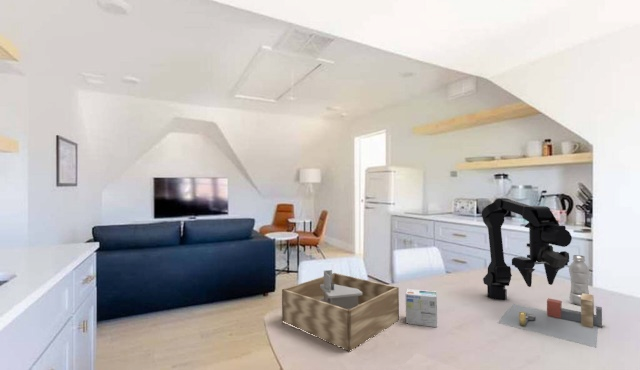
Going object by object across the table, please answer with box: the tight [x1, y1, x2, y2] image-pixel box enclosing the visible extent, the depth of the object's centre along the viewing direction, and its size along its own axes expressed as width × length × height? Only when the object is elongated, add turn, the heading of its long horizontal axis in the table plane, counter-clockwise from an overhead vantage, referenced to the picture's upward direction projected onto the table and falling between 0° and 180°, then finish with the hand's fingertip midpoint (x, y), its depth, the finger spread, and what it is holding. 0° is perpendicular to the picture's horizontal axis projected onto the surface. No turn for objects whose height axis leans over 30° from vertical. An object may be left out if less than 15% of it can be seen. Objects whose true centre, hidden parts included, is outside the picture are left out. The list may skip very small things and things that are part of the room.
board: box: [497, 303, 599, 349], centre depth 110 cm, size 26×24×1 cm
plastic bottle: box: [568, 254, 590, 307], centre depth 127 cm, size 6×7×20 cm
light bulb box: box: [405, 288, 438, 328], centre depth 113 cm, size 11×7×11 cm, turn 71°
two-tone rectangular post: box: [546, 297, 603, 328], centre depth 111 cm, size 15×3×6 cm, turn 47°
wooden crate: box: [281, 272, 400, 352], centre depth 114 cm, size 31×30×12 cm
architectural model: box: [320, 269, 362, 310], centre depth 114 cm, size 23×24×18 cm
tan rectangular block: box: [580, 293, 595, 328], centre depth 109 cm, size 3×8×9 cm, turn 137°
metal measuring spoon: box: [519, 312, 536, 326], centre depth 111 cm, size 5×11×4 cm, turn 137°
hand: (539, 285), depth 112 cm, fingers open, 9 cm apart
